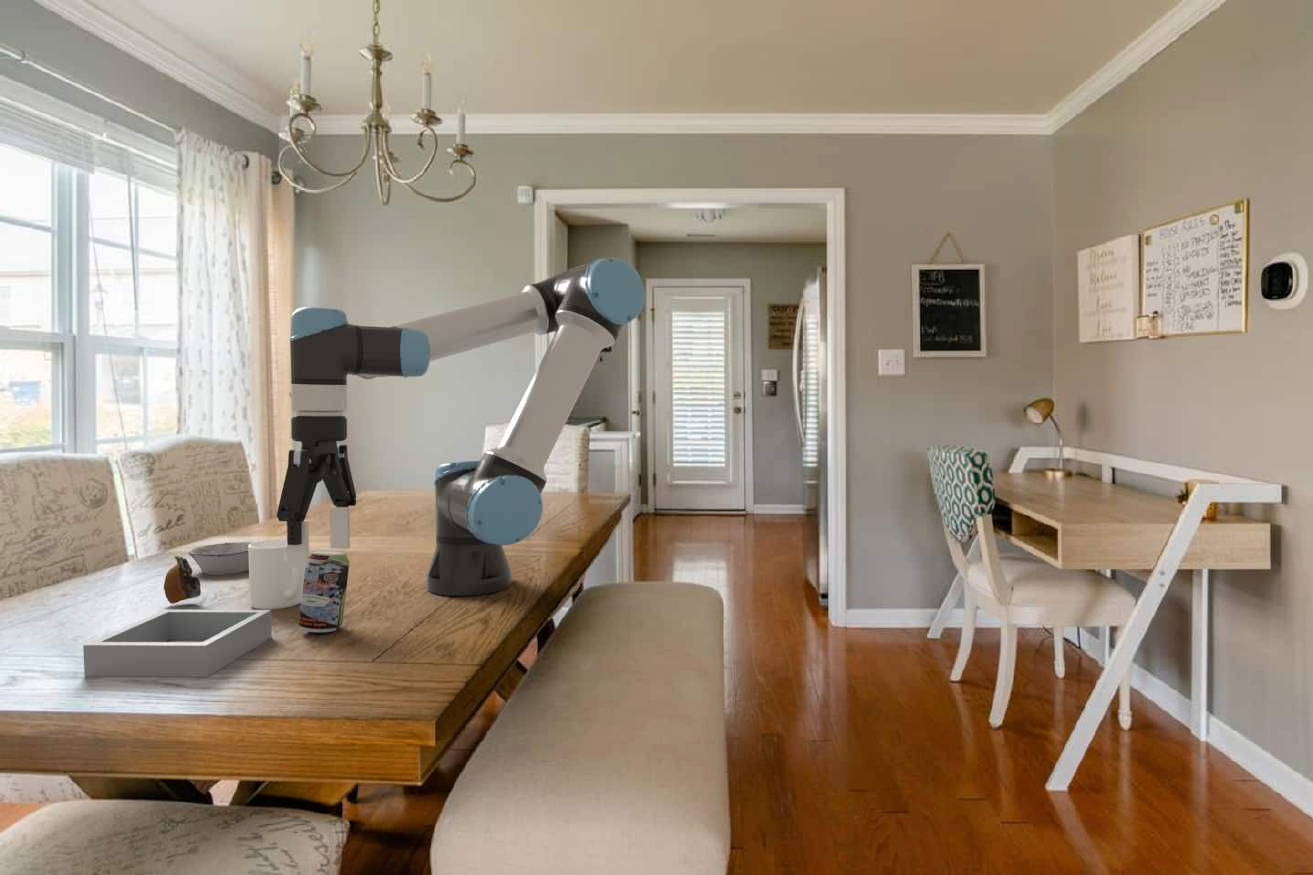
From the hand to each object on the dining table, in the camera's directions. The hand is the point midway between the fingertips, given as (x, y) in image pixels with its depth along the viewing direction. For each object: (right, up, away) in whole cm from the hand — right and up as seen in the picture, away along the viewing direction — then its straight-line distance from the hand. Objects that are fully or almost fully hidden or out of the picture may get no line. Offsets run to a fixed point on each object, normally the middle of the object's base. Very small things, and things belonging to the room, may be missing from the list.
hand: (320, 557), depth 111 cm
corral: (-14, -12, -10) cm, 21 cm away
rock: (-28, -11, +14) cm, 33 cm away
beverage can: (0, -11, +1) cm, 11 cm away
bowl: (-36, -9, +39) cm, 54 cm away
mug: (-13, -11, +14) cm, 22 cm away
